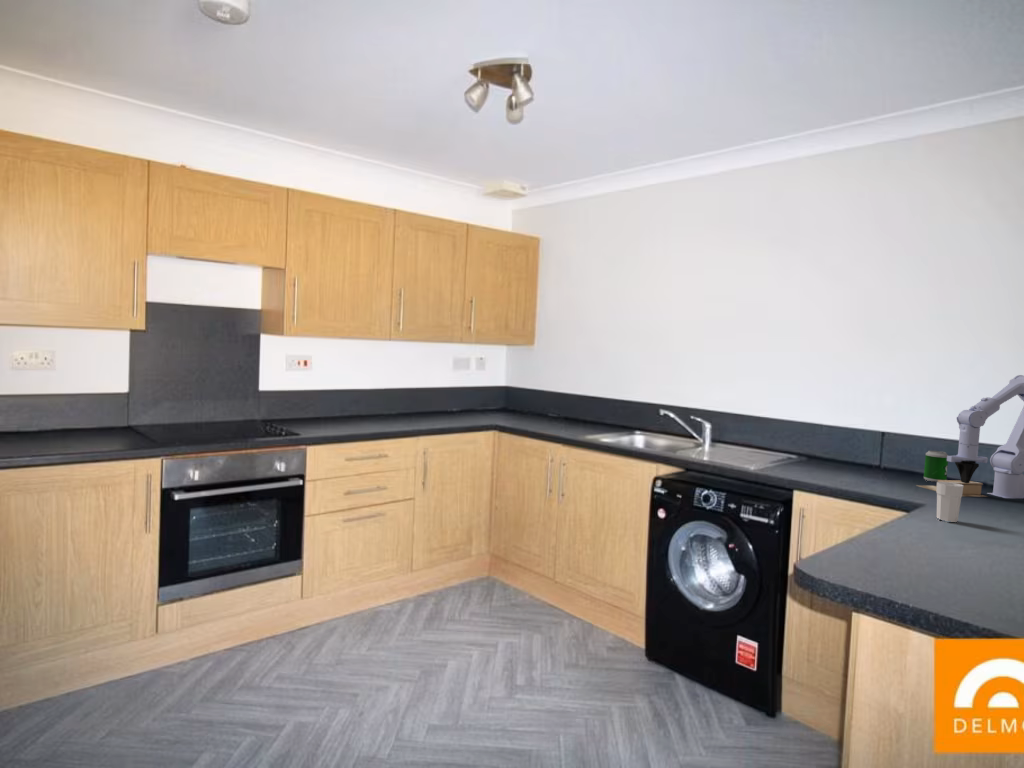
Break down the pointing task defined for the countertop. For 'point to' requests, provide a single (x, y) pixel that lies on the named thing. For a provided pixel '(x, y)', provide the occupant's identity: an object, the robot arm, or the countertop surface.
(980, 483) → the lid flap
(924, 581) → the countertop surface
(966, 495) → the board
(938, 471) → the soda can
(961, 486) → the cup
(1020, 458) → the robot arm
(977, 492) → the parcel box
